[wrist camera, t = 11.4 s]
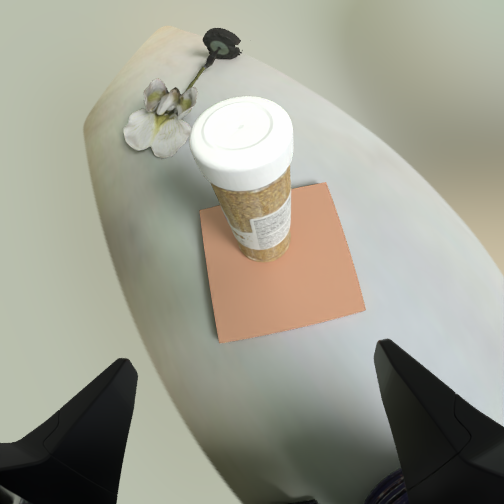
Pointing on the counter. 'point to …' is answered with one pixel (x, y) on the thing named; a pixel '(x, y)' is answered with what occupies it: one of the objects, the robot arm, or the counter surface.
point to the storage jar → (389, 490)
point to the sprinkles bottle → (249, 170)
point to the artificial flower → (173, 104)
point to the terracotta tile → (282, 272)
